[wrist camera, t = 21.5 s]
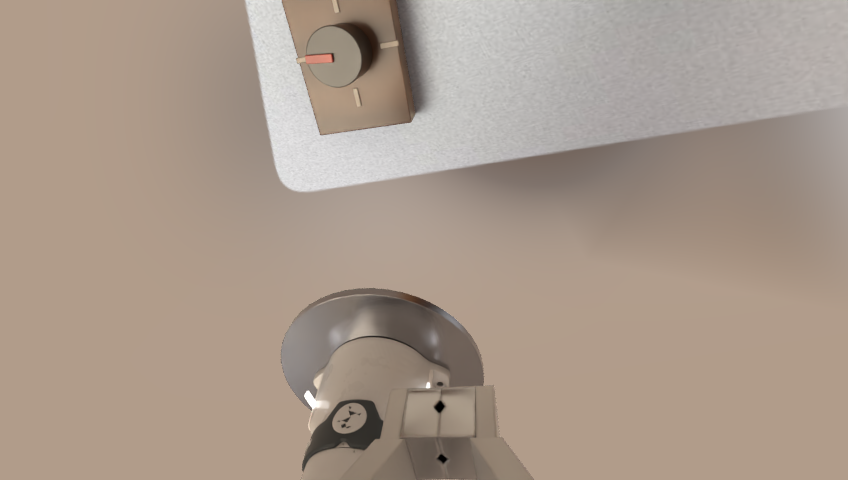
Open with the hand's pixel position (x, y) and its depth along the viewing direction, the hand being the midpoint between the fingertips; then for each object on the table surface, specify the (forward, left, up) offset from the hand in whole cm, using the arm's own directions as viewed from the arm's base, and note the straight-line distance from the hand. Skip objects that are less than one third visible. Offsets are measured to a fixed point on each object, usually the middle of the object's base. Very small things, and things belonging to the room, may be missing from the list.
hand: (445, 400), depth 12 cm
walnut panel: (+8, +8, -29) cm, 31 cm away
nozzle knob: (+8, +8, -26) cm, 28 cm away
